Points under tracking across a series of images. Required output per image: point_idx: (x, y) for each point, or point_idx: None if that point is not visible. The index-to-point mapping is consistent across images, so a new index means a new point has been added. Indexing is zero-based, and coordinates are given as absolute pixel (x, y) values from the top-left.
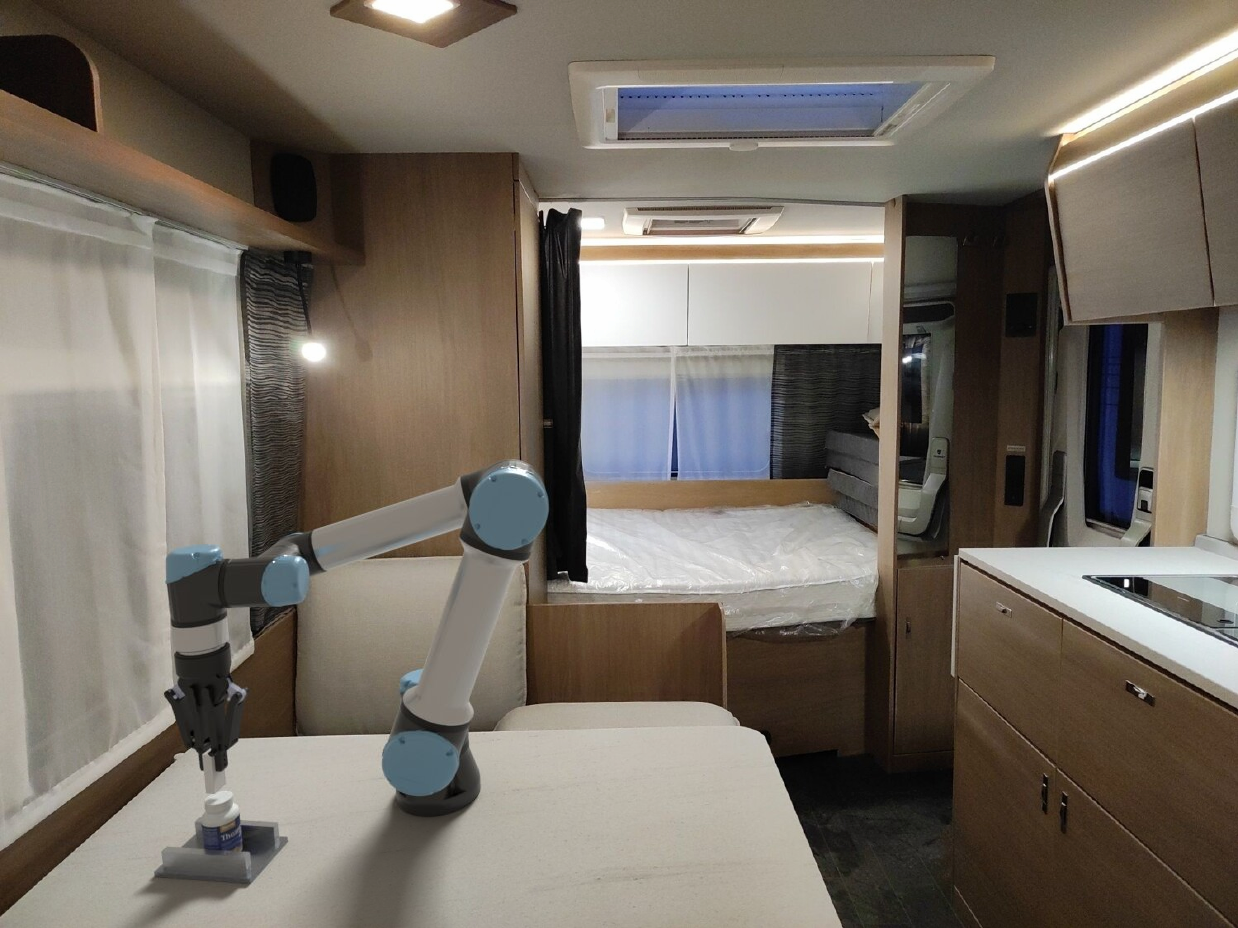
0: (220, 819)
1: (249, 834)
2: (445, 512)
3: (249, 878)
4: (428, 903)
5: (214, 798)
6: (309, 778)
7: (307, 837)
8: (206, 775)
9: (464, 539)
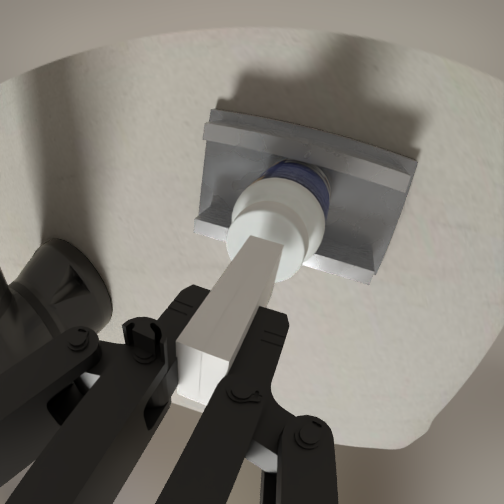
0: (255, 189)
1: None
2: None
3: (213, 110)
4: (21, 93)
5: None
6: None
7: (175, 223)
8: (254, 280)
9: None
